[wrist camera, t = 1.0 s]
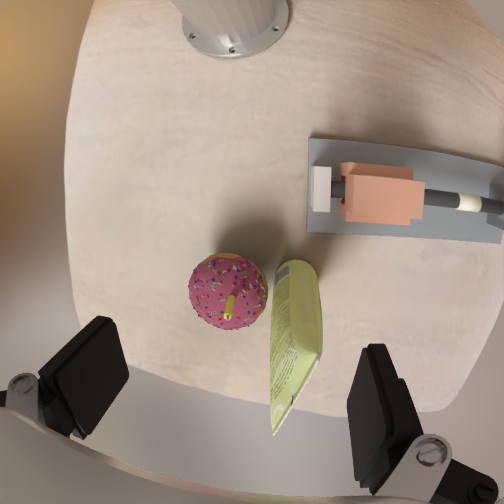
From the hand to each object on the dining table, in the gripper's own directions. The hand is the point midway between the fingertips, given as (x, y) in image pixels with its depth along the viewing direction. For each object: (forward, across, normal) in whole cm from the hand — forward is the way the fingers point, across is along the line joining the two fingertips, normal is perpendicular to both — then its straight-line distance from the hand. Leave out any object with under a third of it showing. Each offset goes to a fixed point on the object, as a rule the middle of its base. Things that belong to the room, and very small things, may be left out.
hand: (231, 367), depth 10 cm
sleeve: (+21, -9, -5) cm, 24 cm away
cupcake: (+24, +4, +7) cm, 25 cm away
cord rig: (+24, -17, -5) cm, 29 cm away
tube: (+24, -3, +7) cm, 25 cm away
